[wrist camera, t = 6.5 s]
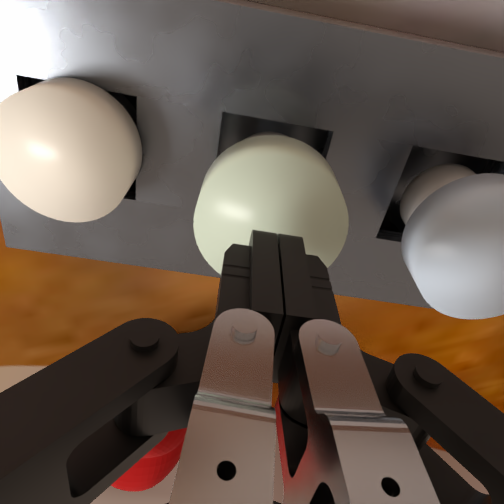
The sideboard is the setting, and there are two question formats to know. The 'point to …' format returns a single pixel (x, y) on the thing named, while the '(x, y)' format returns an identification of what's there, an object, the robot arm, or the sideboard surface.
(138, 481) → the red heart
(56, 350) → the sideboard surface
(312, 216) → the cap mid
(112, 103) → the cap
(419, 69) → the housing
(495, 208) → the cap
